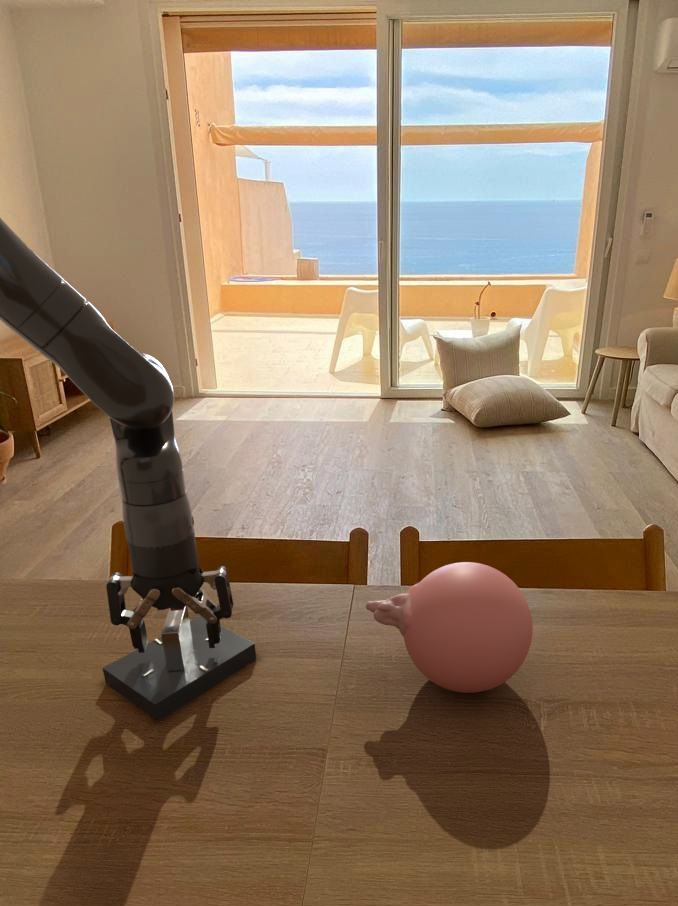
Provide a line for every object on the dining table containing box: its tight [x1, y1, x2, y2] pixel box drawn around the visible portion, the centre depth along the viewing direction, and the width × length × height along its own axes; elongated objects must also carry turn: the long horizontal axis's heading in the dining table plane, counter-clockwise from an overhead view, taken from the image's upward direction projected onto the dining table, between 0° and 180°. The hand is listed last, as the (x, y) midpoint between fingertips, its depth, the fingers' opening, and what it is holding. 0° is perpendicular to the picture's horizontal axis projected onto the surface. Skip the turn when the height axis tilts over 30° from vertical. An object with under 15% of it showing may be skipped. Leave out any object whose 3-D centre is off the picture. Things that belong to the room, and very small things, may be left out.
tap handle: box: [160, 606, 192, 671], centre depth 86 cm, size 6×2×6 cm, turn 6°
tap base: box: [102, 615, 257, 722], centre depth 88 cm, size 15×11×3 cm
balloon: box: [365, 561, 534, 694], centre depth 84 cm, size 15×20×15 cm
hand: (178, 646), depth 87 cm, fingers open, 8 cm apart
